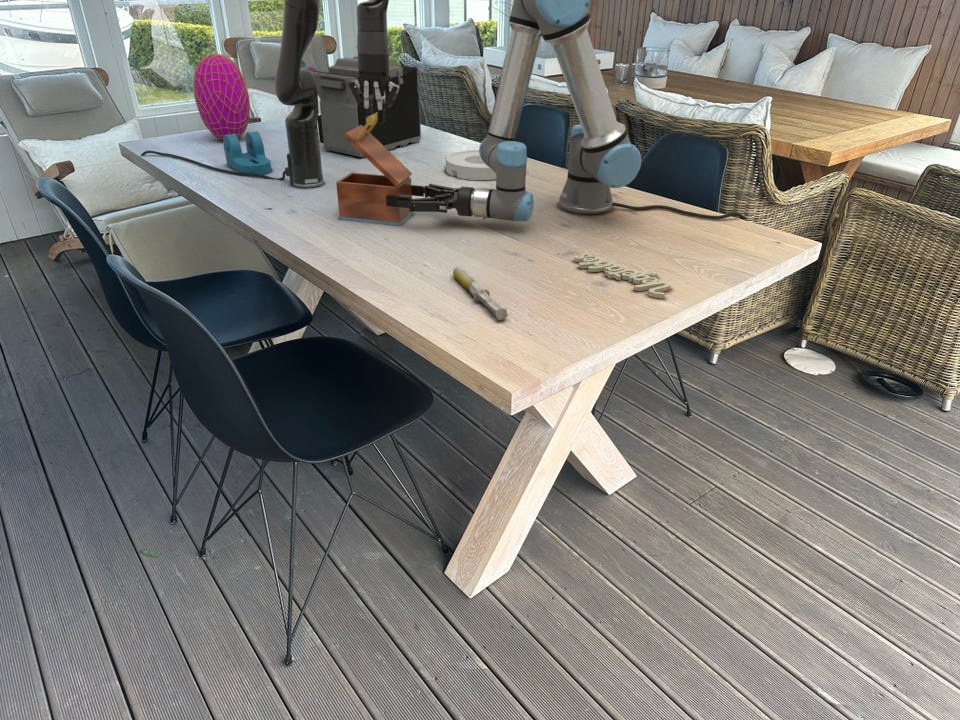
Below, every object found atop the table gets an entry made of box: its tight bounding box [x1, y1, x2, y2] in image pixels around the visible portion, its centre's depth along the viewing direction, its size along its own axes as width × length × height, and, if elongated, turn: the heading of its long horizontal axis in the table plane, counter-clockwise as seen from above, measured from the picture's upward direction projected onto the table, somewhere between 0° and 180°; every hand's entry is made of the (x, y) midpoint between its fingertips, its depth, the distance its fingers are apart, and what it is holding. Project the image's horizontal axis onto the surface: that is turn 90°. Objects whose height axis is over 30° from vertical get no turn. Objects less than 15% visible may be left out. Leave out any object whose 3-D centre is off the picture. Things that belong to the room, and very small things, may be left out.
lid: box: [344, 113, 413, 187], centre depth 178 cm, size 18×10×9 cm
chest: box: [335, 172, 414, 226], centre depth 186 cm, size 18×10×10 cm, turn 75°
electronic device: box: [311, 55, 422, 159], centre depth 250 cm, size 37×22×30 cm, turn 144°
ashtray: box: [445, 149, 496, 181], centre depth 229 cm, size 23×23×4 cm
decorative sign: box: [574, 252, 671, 299], centre depth 155 cm, size 26×1×10 cm
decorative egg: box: [193, 53, 251, 140], centre depth 257 cm, size 19×19×30 cm
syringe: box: [452, 266, 509, 321], centre depth 145 cm, size 25×4×3 cm, turn 21°
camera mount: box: [222, 131, 272, 175], centre depth 226 cm, size 18×10×10 cm, turn 35°
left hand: (375, 123), depth 176 cm, fingers closed on lid, 2 cm apart
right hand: (393, 194), depth 184 cm, fingers closed on chest, 10 cm apart
